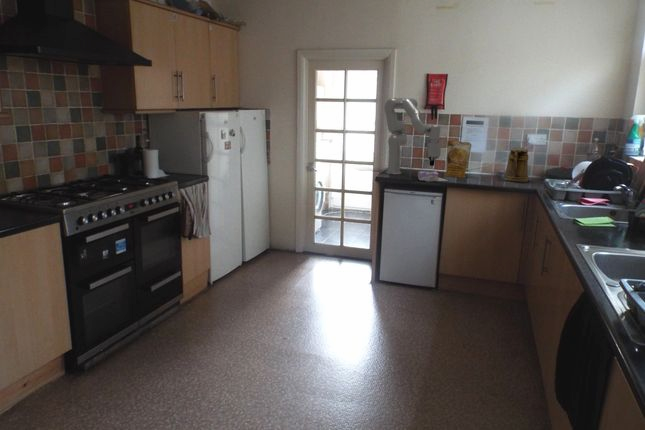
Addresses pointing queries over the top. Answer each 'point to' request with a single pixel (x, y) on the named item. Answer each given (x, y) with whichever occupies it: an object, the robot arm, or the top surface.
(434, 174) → the candy box
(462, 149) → the pancake mix bag
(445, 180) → the mat
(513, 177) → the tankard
